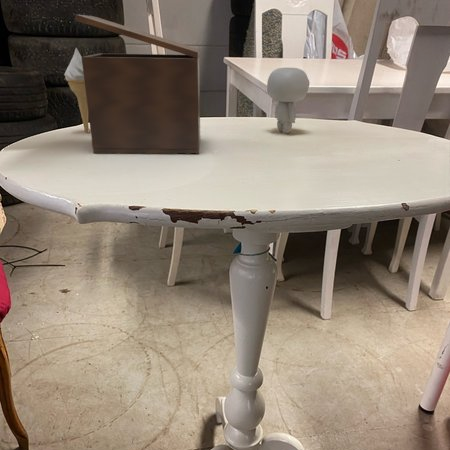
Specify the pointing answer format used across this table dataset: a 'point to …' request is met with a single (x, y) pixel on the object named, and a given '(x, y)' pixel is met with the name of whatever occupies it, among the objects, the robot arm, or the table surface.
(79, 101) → the ice cream cone
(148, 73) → the bin
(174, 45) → the bin lid
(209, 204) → the table surface
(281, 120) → the figurine
